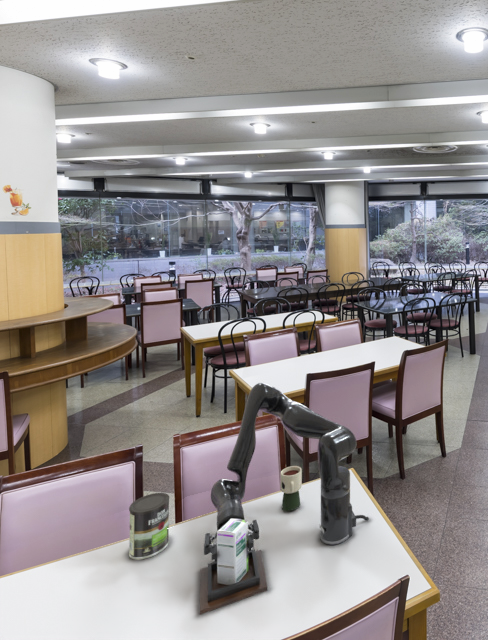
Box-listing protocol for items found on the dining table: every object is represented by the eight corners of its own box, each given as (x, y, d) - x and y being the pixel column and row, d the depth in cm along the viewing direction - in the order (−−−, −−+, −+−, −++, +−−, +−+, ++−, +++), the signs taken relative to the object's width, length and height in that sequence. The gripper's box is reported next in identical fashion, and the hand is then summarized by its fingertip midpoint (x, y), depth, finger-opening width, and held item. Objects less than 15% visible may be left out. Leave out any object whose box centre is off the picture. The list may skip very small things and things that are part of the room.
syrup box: (235, 587, 116) (235, 533, 116) (216, 583, 117) (216, 530, 117) (248, 571, 122) (249, 519, 122) (230, 568, 123) (230, 517, 123)
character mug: (279, 501, 156) (280, 465, 156) (300, 497, 159) (300, 461, 159) (281, 519, 146) (281, 480, 146) (302, 514, 149) (302, 476, 149)
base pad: (260, 553, 130) (260, 543, 130) (267, 590, 116) (267, 579, 116) (200, 572, 123) (200, 561, 123) (199, 614, 108) (199, 602, 109)
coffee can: (176, 540, 136) (177, 495, 136) (145, 563, 126) (145, 515, 126) (153, 533, 139) (153, 489, 139) (120, 555, 129) (120, 508, 129)
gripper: (204, 513, 129) (203, 547, 114) (255, 500, 135) (261, 530, 121) (204, 538, 129) (203, 576, 114) (255, 524, 135) (261, 557, 121)
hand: (233, 552), depth 118 cm, fingers closed on syrup box, 8 cm apart
